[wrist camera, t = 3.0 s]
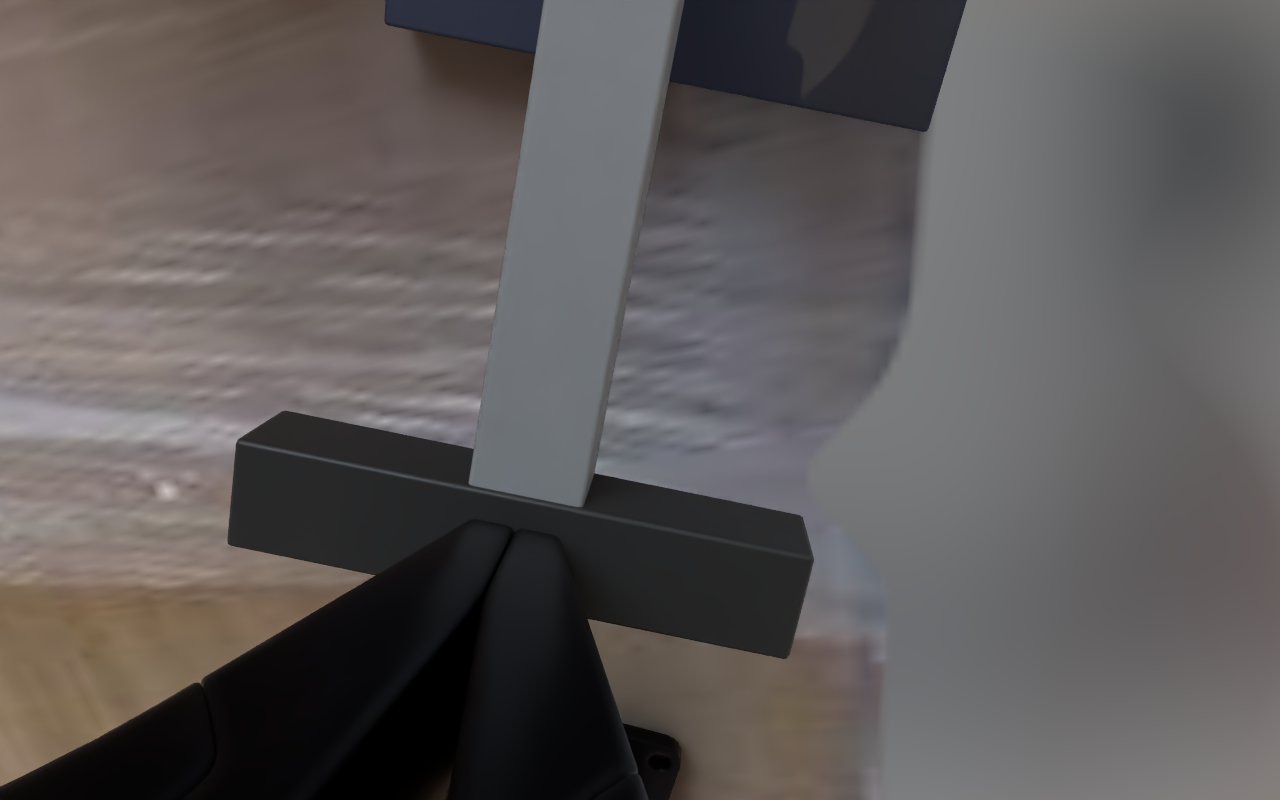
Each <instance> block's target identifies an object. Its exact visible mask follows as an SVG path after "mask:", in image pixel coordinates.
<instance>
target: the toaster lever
mask: <svg viewBox="0 0 1280 800" xmlns="http://www.w3.org/2000/svg"><path fill="white" fill-rule="evenodd" d="M683 5H684V0H544V2H543V8H542V15H541V21H540V28H539V34H538V40H537V47H536V53H535V60H534V66H533V73H532V79H531V85H530V92H529V98H528V105H527V111H526V117H525V124H524V130H523V137H522V143H521V149H520V156H519V162H518V169H517V175H516V182H515V188H514V194H513V201H512V207H511V214H510V220H509V226H508V233H507V239H506V246H505V252H504V258H503V265H502V271H501V278H500V284H499V291H498V297H497V303H496V310H495V316H494V323H493V329H492V335H491V342H490V348H489V355H488V361H487V367H486V374H485V380H484V387H483V393H482V400H481V406H480V412H479V419H478V425H477V432H476V438H475V444H474V449H471V448H467V447H462V446H457V445H452V444H447V443H442V442H437V441H432V440H427V439H422V438H417V437H412V436H407V435H403V434H398V433H393V432H388V431H383V430H378V429H373V428H368V427H363V426H358V425H353V424H348V423H344V422H339V421H334V420H329V419H324V418H319V417H314V416H309V415H304V414H299V413H294V412H289V411H282V412H280V413H279V414H277V415H276V416H274V417H272V418H271V419H269V420H268V421H266V422H265V423H263V424H261V425H260V426H258V427H257V428H255V429H254V430H252V431H250V432H249V433H247V434H246V435H244V436H243V437H241V438H239V439H238V441H237V443H236V452H235V463H234V474H233V485H232V496H231V507H230V519H229V530H228V544H229V545H231V546H235V547H240V548H245V549H250V550H255V551H260V552H265V553H270V554H275V555H279V556H284V557H289V558H294V559H299V560H304V561H309V562H314V563H318V564H323V565H328V566H333V567H338V568H343V569H348V570H353V571H358V572H362V573H367V574H372V575H378V574H379V573H381V572H383V571H384V570H386V569H388V568H389V567H391V566H393V565H394V564H396V563H398V562H399V561H401V560H403V559H405V558H406V557H408V556H410V555H411V554H413V553H415V552H416V551H418V550H420V549H421V548H423V547H425V546H426V545H428V544H430V543H432V542H433V541H435V540H437V539H438V538H440V537H442V536H443V535H445V534H447V533H448V532H450V531H452V530H453V529H455V528H457V527H459V526H460V525H462V524H464V523H465V522H467V521H469V520H472V519H478V520H483V521H488V522H493V523H497V524H502V525H507V526H510V527H511V528H512V529H513V531H514V533H515V532H516V531H517V530H520V529H527V530H532V531H537V532H542V533H547V534H552V535H555V536H557V537H558V538H559V539H560V541H561V543H562V545H563V548H564V551H565V554H566V557H567V560H568V563H569V566H570V569H571V572H572V575H573V578H574V581H575V584H576V587H577V590H578V593H579V596H580V599H581V602H582V605H583V608H584V611H585V614H586V617H587V619H592V620H597V621H602V622H606V623H611V624H616V625H621V626H626V627H631V628H636V629H641V630H645V631H650V632H655V633H660V634H665V635H670V636H675V637H680V638H685V639H689V640H694V641H699V642H704V643H709V644H714V645H719V646H724V647H728V648H733V649H738V650H743V651H748V652H753V653H758V654H763V655H767V656H772V657H777V658H782V659H786V658H787V657H788V656H789V655H790V651H791V648H792V644H793V640H794V636H795V632H796V628H797V624H798V620H799V617H800V613H801V609H802V605H803V601H804V597H805V593H806V590H807V586H808V582H809V578H810V574H811V570H812V566H813V563H814V558H813V553H812V550H811V546H810V542H809V539H808V535H807V531H806V527H805V524H804V520H803V517H801V516H800V515H796V514H791V513H786V512H781V511H776V510H771V509H767V508H762V507H757V506H752V505H747V504H742V503H737V502H732V501H727V500H722V499H717V498H712V497H708V496H703V495H698V494H693V493H688V492H683V491H678V490H673V489H668V488H663V487H658V486H653V485H648V484H644V483H639V482H634V481H629V480H624V479H619V478H614V477H609V476H604V475H599V474H594V472H595V466H596V461H597V456H598V451H599V445H600V440H601V435H602V430H603V425H604V419H605V414H606V409H607V404H608V398H609V393H610V388H611V383H612V377H613V372H614V367H615V362H616V356H617V351H618V346H619V341H620V335H621V330H622V325H623V320H624V314H625V309H626V304H627V299H628V294H629V288H630V283H631V278H632V273H633V267H634V262H635V257H636V252H637V246H638V241H639V236H640V231H641V225H642V220H643V215H644V210H645V204H646V199H647V194H648V189H649V183H650V178H651V173H652V168H653V162H654V157H655V152H656V147H657V142H658V136H659V131H660V126H661V121H662V115H663V110H664V105H665V100H666V94H667V89H668V84H669V79H670V73H671V68H672V63H673V58H674V52H675V47H676V42H677V37H678V31H679V26H680V21H681V16H682V10H683Z"/></svg>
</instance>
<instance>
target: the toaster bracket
mask: <svg viewBox="0 0 1280 800" xmlns="http://www.w3.org/2000/svg"><path fill="white" fill-rule="evenodd" d="M966 1H967V0H684V5H683V10H682V16H681V21H680V26H679V31H678V37H677V42H676V47H675V52H674V58H673V63H672V68H671V73H670V79H669V81H670V82H675V83H680V84H685V85H690V86H695V87H700V88H705V89H710V90H716V91H721V92H726V93H731V94H736V95H741V96H746V97H751V98H756V99H761V100H766V101H771V102H776V103H781V104H786V105H791V106H796V107H801V108H806V109H811V110H816V111H821V112H826V113H831V114H836V115H841V116H846V117H851V118H856V119H861V120H866V121H871V122H876V123H881V124H886V125H891V126H896V127H902V128H907V129H912V130H917V131H922V132H925V131H927V130H928V129H929V125H930V122H931V118H932V115H933V112H934V108H935V105H936V102H937V98H938V95H939V92H940V88H941V85H942V81H943V78H944V75H945V72H946V68H947V65H948V61H949V58H950V55H951V51H952V48H953V45H954V41H955V38H956V35H957V31H958V28H959V24H960V21H961V18H962V15H963V11H964V8H965V4H966ZM543 2H544V0H386V4H385V24H387V25H389V26H394V27H399V28H404V29H409V30H414V31H419V32H424V33H429V34H434V35H439V36H444V37H449V38H454V39H459V40H464V41H469V42H474V43H479V44H484V45H489V46H494V47H499V48H504V49H509V50H514V51H519V52H525V53H530V54H535V53H536V47H537V40H538V34H539V28H540V21H541V15H542V8H543Z"/></svg>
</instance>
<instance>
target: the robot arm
mask: <svg viewBox="0 0 1280 800" xmlns="http://www.w3.org/2000/svg"><path fill="white" fill-rule="evenodd" d="M656 754H658V755H663V756H665V758H657V757H655V756H653V755H656ZM680 760H681V747H680V745H679V743H678V742H677V741H676V740H675V739H674V738H672V737H670V736H668V735H665V734H661V733H658V732H654V731H650V730H646V729H642V728H639V727H635V726H631V725H627V724H623V723H622V721H621V718H620V715H619V712H618V709H617V706H616V703H615V700H614V697H613V694H612V691H611V688H610V685H609V682H608V679H607V676H606V673H605V670H604V667H603V664H602V661H601V658H600V655H599V652H598V649H597V646H596V643H595V640H594V637H593V635H592V632H591V629H590V626H589V623H588V620H587V617H586V614H585V611H584V608H583V605H582V602H581V599H580V596H579V593H578V590H577V587H576V584H575V581H574V578H573V575H572V572H571V569H570V566H569V563H568V560H567V557H566V554H565V551H564V548H563V545H562V543H561V541H560V539H559V538H558V537H557V536H555V535H552V534H547V533H542V532H537V531H532V530H527V529H520V530H517V531H516V532H515V533H514V531H513V529H512V528H511V527H510V526H507V525H502V524H497V523H493V522H488V521H483V520H478V519H472V520H469V521H467V522H465V523H464V524H462V525H460V526H459V527H457V528H455V529H453V530H452V531H450V532H448V533H447V534H445V535H443V536H442V537H440V538H438V539H437V540H435V541H433V542H432V543H430V544H428V545H426V546H425V547H423V548H421V549H420V550H418V551H416V552H415V553H413V554H411V555H410V556H408V557H406V558H405V559H403V560H401V561H399V562H398V563H396V564H394V565H393V566H391V567H389V568H388V569H386V570H384V571H383V572H381V573H379V574H378V575H376V576H374V577H372V578H371V579H369V580H367V581H366V582H364V583H362V584H361V585H359V586H357V587H356V588H354V589H352V590H351V591H349V592H347V593H346V594H344V595H342V596H340V597H339V598H337V599H335V600H334V601H332V602H330V603H329V604H327V605H325V606H324V607H322V608H320V609H319V610H317V611H315V612H313V613H312V614H310V615H308V616H307V617H305V618H303V619H302V620H300V621H298V622H297V623H295V624H293V625H292V626H290V627H288V628H286V629H285V630H283V631H281V632H280V633H278V634H276V635H275V636H273V637H271V638H270V639H268V640H266V641H265V642H263V643H261V644H259V645H258V646H256V647H254V648H253V649H251V650H249V651H248V652H246V653H244V654H243V655H241V656H239V657H238V658H236V659H234V660H232V661H231V662H229V663H227V664H226V665H224V666H222V667H221V668H219V669H217V670H216V671H214V672H212V673H211V674H209V675H207V676H206V677H204V678H203V679H202V682H201V684H200V683H193V684H191V685H190V686H188V687H186V688H185V689H183V690H181V691H180V692H178V693H176V694H174V695H173V696H171V697H169V698H168V699H166V700H164V701H163V702H161V703H159V704H158V705H156V706H154V707H152V708H150V709H149V710H147V711H145V712H143V713H142V714H140V715H138V716H136V717H134V718H133V719H131V720H129V721H127V722H125V723H124V724H122V725H120V726H118V727H117V728H115V729H113V730H111V731H109V732H108V733H106V734H104V735H102V736H100V737H99V738H97V739H95V740H93V741H91V742H89V743H87V744H85V745H83V746H81V747H79V748H77V749H75V750H73V751H71V752H69V753H67V754H65V755H63V756H61V757H59V758H57V759H55V760H53V761H51V762H49V763H47V764H45V765H44V766H42V767H40V768H38V769H36V770H34V771H32V772H30V773H28V774H26V775H24V776H22V777H20V778H18V779H15V780H13V781H11V782H9V783H7V784H5V785H3V786H1V787H0V800H668V799H669V796H670V794H671V791H672V788H673V785H674V783H675V780H676V777H677V774H678V772H679V769H680Z"/></svg>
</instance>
